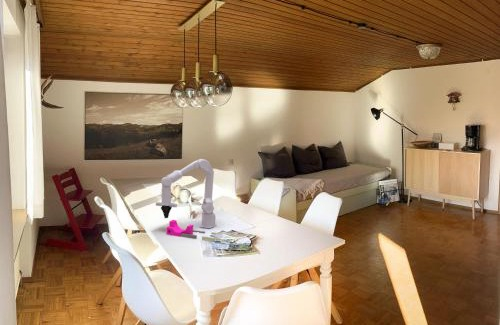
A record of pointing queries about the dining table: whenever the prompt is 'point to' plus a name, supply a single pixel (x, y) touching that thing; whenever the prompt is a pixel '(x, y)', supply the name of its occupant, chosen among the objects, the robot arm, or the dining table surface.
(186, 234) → the channel
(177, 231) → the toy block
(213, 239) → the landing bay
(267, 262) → the dining table surface
